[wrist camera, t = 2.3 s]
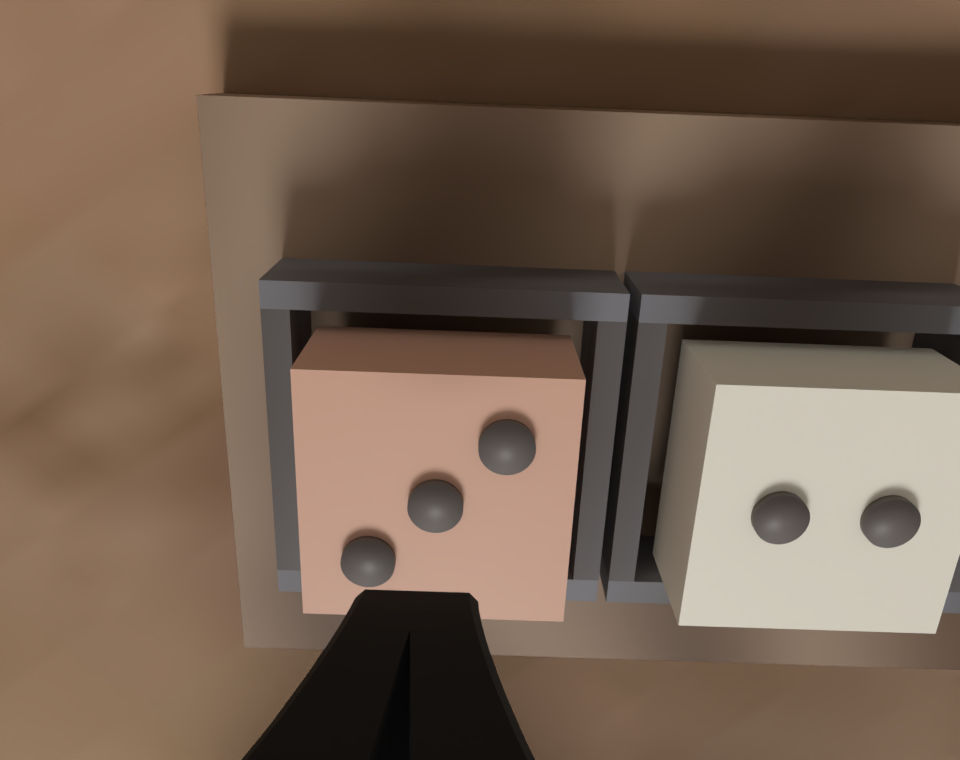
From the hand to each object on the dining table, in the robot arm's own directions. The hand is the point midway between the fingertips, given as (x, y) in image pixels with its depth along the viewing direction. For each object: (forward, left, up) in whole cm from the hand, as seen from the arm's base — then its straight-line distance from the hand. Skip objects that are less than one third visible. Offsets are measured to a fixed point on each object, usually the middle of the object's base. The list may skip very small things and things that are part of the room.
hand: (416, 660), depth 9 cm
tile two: (-7, 0, -6) cm, 9 cm away
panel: (-7, 0, -9) cm, 11 cm away
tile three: (0, 0, -6) cm, 6 cm away
